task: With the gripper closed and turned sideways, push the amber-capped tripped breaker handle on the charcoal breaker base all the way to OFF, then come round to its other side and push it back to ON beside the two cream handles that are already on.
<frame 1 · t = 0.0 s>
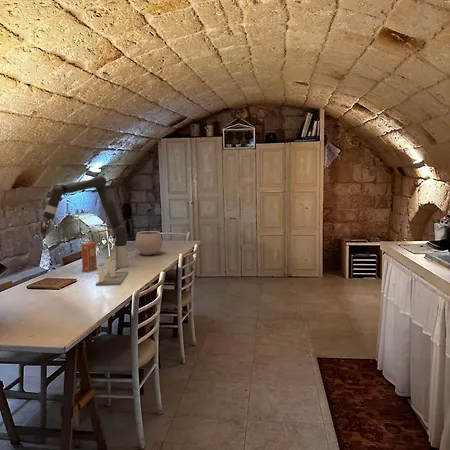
hand: (42, 233, 313), 31 cm above the table, tool tilted 20°, fingers open, 8 cm apart
breaker base: (113, 279, 302), on the table
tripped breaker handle: (112, 268, 301), point 8 cm above the table, slide at 0.0 cm
plant pot: (149, 254, 395), on the table
orange carton box: (89, 270, 332), on the table
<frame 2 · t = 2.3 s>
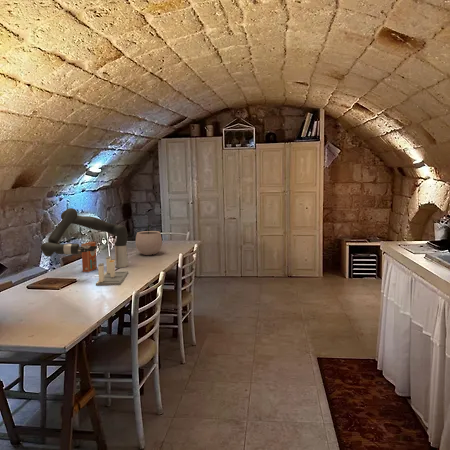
hand: (95, 248, 299), 22 cm above the table, tool horizontal, fingers open, 8 cm apart
nothing on the table moved.
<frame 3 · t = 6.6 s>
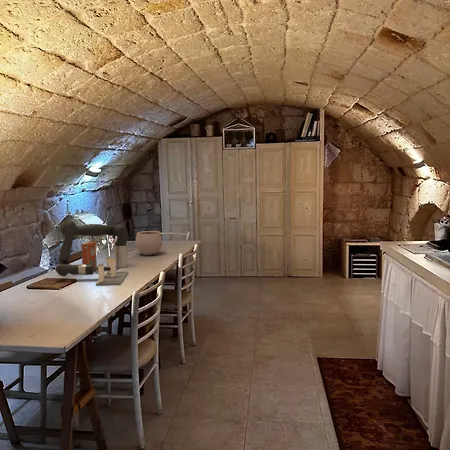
hand: (111, 268, 301), 7 cm above the table, tool horizontal, fingers closed
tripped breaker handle: (112, 268, 301), point 8 cm above the table, slide at 0.3 cm, touching gripper
everything else where it was.
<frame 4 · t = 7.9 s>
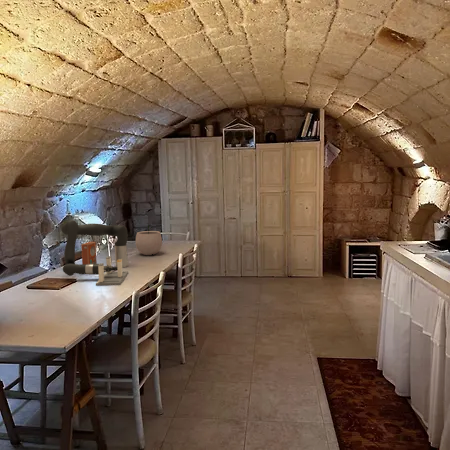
hand: (118, 268, 301), 7 cm above the table, tool horizontal, fingers closed
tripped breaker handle: (119, 268, 301), point 8 cm above the table, slide at 5.1 cm, touching gripper
everything else where it was.
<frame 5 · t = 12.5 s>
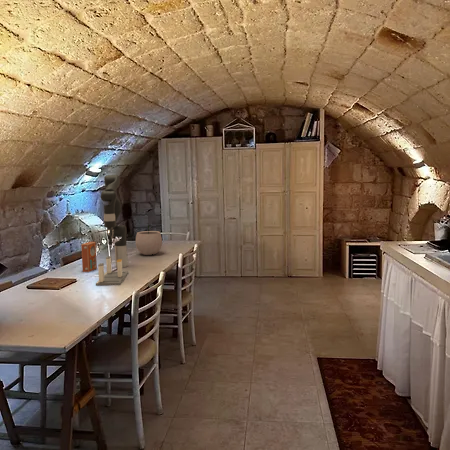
hand: (110, 244, 299), 25 cm above the table, tool pointing down, fingers closed
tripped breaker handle: (119, 268, 301), point 8 cm above the table, slide at 5.1 cm
everything else where it was.
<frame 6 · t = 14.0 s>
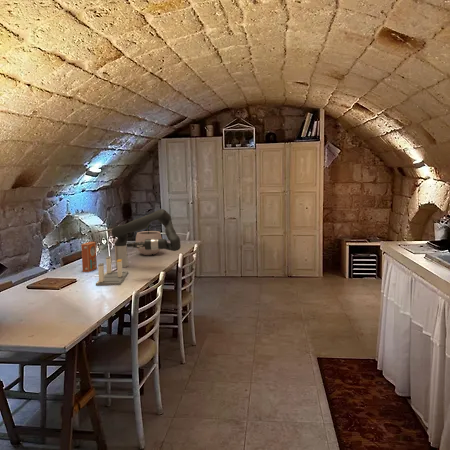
hand: (127, 245, 300), 24 cm above the table, tool horizontal, fingers closed
nothing on the table moved.
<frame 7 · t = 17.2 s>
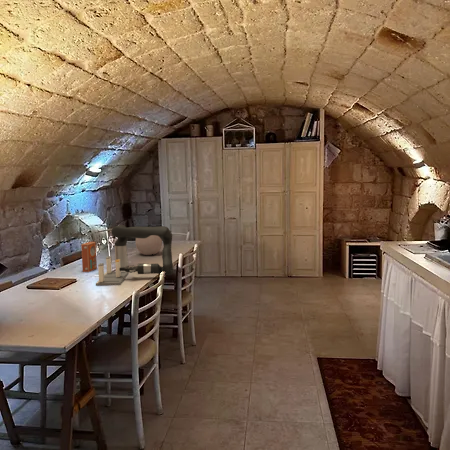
hand: (119, 269, 301), 7 cm above the table, tool horizontal, fingers closed
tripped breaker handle: (118, 268, 301), point 8 cm above the table, slide at 3.9 cm, touching gripper
everything else where it was.
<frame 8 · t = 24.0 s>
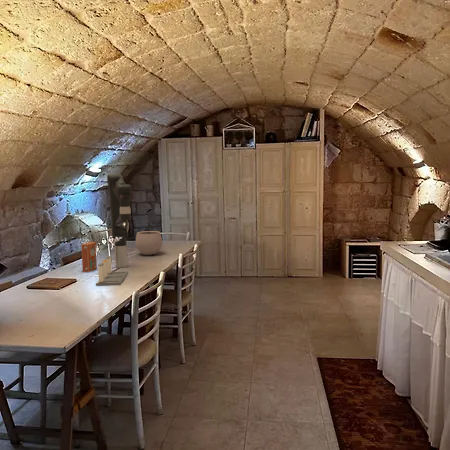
hand: (126, 237, 303), 29 cm above the table, tool pointing down, fingers closed
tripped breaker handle: (105, 268, 301), point 8 cm above the table, slide at -5.1 cm
everything else where it was.
at the end: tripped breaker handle slide at -5.1 cm; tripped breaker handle 0.2 cm from the target spot on the breaker base, point 7.7 cm above the breaker base's base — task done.
